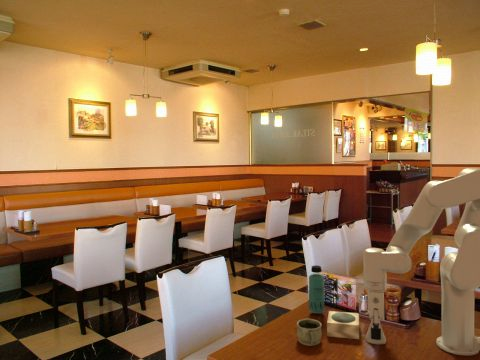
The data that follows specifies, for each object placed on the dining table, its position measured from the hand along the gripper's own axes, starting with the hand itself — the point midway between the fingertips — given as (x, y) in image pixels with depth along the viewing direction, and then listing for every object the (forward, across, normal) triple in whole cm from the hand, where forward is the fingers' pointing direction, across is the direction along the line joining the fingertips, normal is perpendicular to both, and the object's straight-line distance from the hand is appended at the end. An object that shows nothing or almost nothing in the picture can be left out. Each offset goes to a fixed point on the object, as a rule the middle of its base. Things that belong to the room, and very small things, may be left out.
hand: (375, 334), depth 138 cm
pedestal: (+2, +5, +11) cm, 12 cm away
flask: (+2, 0, 0) cm, 2 cm away
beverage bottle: (+2, +19, +22) cm, 29 cm away
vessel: (+2, -5, +22) cm, 23 cm away
